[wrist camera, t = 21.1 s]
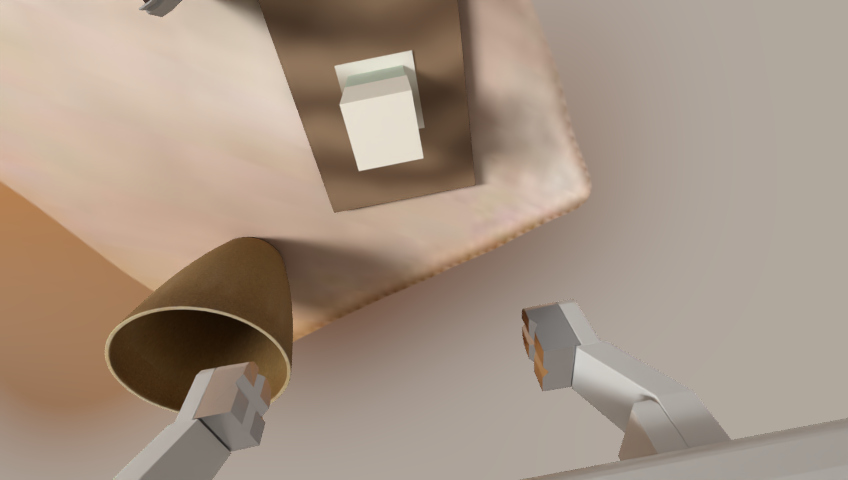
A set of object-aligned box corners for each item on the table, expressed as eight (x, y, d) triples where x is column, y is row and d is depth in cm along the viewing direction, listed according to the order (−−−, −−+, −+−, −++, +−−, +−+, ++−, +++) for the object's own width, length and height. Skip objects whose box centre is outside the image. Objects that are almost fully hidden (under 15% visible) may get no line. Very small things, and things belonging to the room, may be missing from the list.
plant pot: (337, 276, 49) (323, 384, 36) (244, 318, 51) (199, 434, 38) (261, 185, 41) (206, 282, 28) (155, 240, 43) (58, 353, 30)
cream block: (344, 87, 30) (339, 104, 25) (406, 75, 30) (411, 90, 25) (361, 147, 32) (358, 171, 28) (417, 136, 32) (423, 158, 28)
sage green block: (347, 75, 34) (343, 89, 30) (402, 64, 34) (405, 76, 30) (362, 129, 37) (360, 148, 33) (412, 119, 37) (416, 137, 32)
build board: (254, -26, 30) (248, -27, 29) (448, -66, 30) (451, -68, 29) (335, 206, 43) (334, 213, 42) (472, 179, 43) (475, 185, 41)
